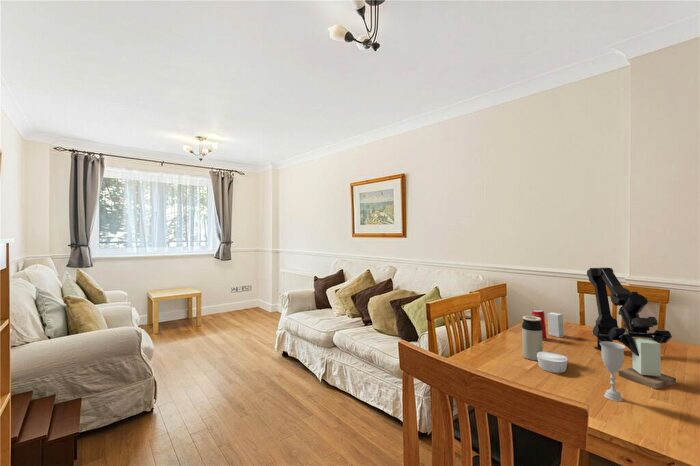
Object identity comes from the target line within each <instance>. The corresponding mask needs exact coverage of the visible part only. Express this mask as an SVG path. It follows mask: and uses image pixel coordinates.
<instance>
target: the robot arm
mask: <svg viewBox="0 0 700 466" xmlns="http://www.w3.org/2000/svg"><path fill="white" fill-rule="evenodd" d="M586 275H587V277H588V282H590V283H591V284H592V286H593V288H594V293H595V301H596V306H597V313H598V317H597V318H596V320H595V325H594V326H593V328H592V334H593V335H594V336H595V337H596V338H597V340H596V341H597V345H596V346H594V349H597V350H600V351H601V345H600V343H599V342H602V341H607V342H614V341H618V343H620V344H622V345H624V346H625V347H627V348H628V349H629V351H631V352H633V353H634V354H635V355H637V356H638V355H639V353H638V350H637V348H636V346H635V344H634V342H633V338H647V339H652V340H654V341H656V342H658V343H660V344H667V343H668V342H669V341H670V340H671V339H672V337H673V335H672V333H671V332H670V331H669V330H666V329H655V331H654V332H649V331H650V330H651V328H654V327H655V326H658V324H659V323H658V320H657V318H656V317H655V316H648V317H641V316H640V313H641V312H642V311H643V310H644V308H646V305H647V304H648V301H649V300H648V298H646V297H645V296H644V295H642V294H640V293H638V291H631V290H630V289H627V288H625V287H624V286H623V285H622V284H621V282H620V281H619V279H618V277H617V276H616V275H615V273H614V269H613V268H612V267H590V268H589V269H587V271H586ZM607 288H608V289H607ZM608 290H609V292H610V297H609V295H608ZM609 298H610V301H611V303H612V304H613V306H615V307H616V306H617V307H620V308H619V309H618V312H617V313H618V316H621V319H622V321H623V327H624V328H623V327H619V325H618V320H617V319H616V318H614V317H613V316H612V313H611V307H610V302H609ZM625 328H626V329H627V330H626V329H625Z"/></svg>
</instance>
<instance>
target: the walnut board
mask: <svg viewBox="0 0 700 466" xmlns="http://www.w3.org/2000/svg"><path fill="white" fill-rule="evenodd" d="M618 376H619V377H621V378H623V379H627V380H629V381H632V382H635V383H637V384H639V385H642V386H645V385H646V387H648V386H649V388H651V387H652V388H651V389H654V388H655V389H654V390H658V388H659V389H661V387H662V388H666V387H668V386H672V385H675V383H677V377H674V376H671V375H667V374H665V373H661V376H653V375H641V374H640V373H639V372H637V371H636V370H634V369H633V366H632V367H630V368H625V369H620V370H619V371H618Z"/></svg>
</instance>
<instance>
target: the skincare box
mask: <svg viewBox="0 0 700 466" xmlns="http://www.w3.org/2000/svg"><path fill="white" fill-rule="evenodd" d="M563 316H564V315H563V314H562V313H557V312H548V313H547V327H548V328H547V329H548V336H553V337H556V338H563V337H564V336H565V335H564V317H563Z"/></svg>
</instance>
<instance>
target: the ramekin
mask: <svg viewBox="0 0 700 466" xmlns="http://www.w3.org/2000/svg"><path fill="white" fill-rule="evenodd" d="M537 358H538V360H537V364H538V366H539V368H540V369H541V370H543V371H545V372H549V373H553V374H563V373H565V372H566V371H567V366H568V365H567V364H568V361H569V358H568V357H567V356H565V355H563V354H561V353H558V352H553V351H543V352H538V353H537Z"/></svg>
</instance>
